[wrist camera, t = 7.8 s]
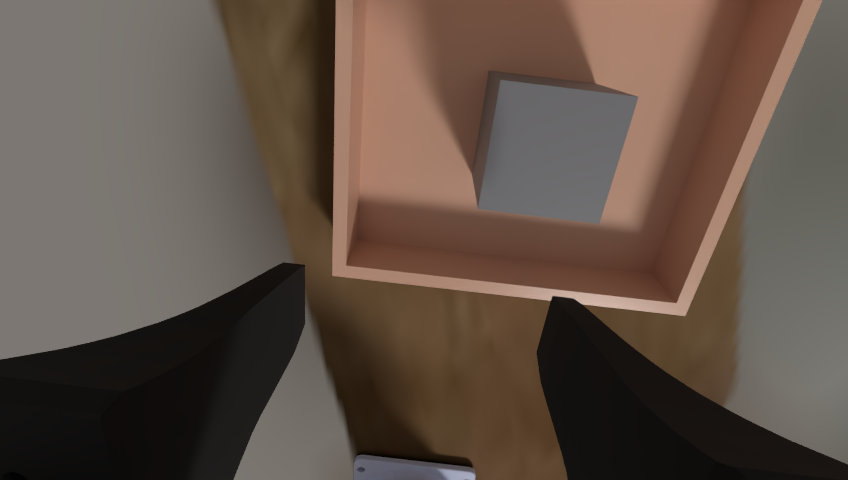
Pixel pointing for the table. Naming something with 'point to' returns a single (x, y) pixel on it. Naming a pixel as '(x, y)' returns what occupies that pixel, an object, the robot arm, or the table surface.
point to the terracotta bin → (561, 59)
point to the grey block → (549, 146)
